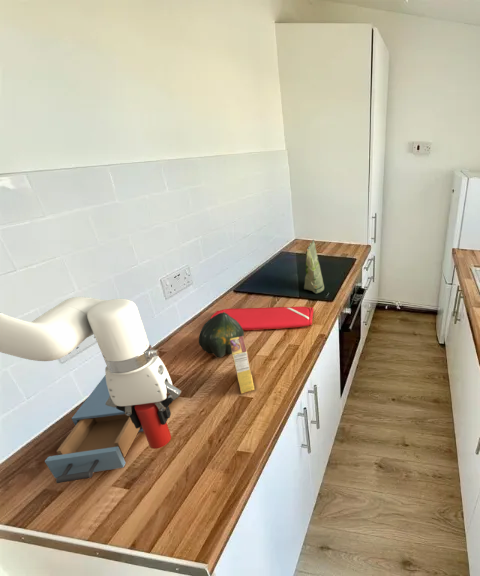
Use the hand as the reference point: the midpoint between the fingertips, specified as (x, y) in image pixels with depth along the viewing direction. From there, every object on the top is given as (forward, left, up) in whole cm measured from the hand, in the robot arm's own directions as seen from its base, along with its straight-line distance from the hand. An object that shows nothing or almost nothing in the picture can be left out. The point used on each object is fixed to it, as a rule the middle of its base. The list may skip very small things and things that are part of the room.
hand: (153, 420), depth 74 cm
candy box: (+15, +24, -13) cm, 31 cm away
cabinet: (-15, +18, -13) cm, 27 cm away
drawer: (-15, +4, -12) cm, 20 cm away
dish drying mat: (+17, +62, -13) cm, 65 cm away
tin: (0, 0, -7) cm, 7 cm away
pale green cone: (+39, +90, -13) cm, 99 cm away
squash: (+5, +44, -13) cm, 46 cm away
